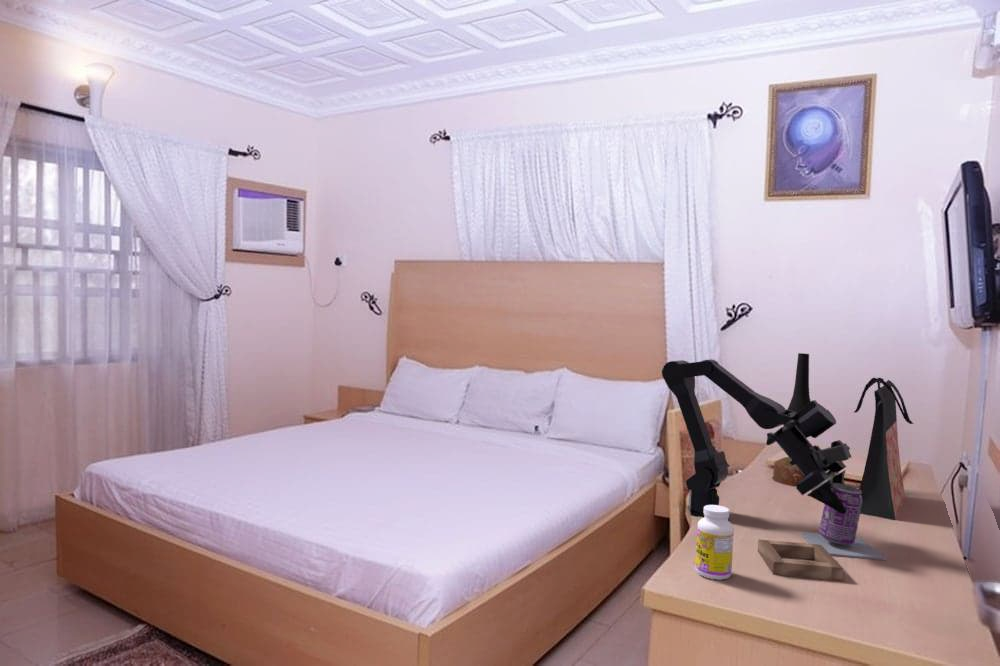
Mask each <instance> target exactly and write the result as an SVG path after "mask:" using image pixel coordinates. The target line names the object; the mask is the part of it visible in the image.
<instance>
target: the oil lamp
mask: <svg viewBox="0 0 1000 666" xmlns="http://www.w3.org/2000/svg"><path fill="white" fill-rule="evenodd" d="M797 353H798V354H797V361H796V363H797V364H796V370H795V372H796V373H795V379H794V380H795V381H794V387H793V393H792V397H791V399H790V403H788V404H789V405H788V407H787V409H786V410H790V411H793V412H797V413H798V412H799V411H800V410H802V409H803V408H804V407H806V405H807V404H808V403H809V402H811V401H812V400H811V397H810V354H809V353H801V352H797ZM794 423H796V422H795V421H793V422H790V423H788V424H783V425H782V427H787V428H789V427H790V426H792V425H793V424H794ZM796 427H797V426H796ZM797 428H798V427H797ZM804 436H805V435H804ZM805 437H806V436H805ZM806 438H807V439H808V437H806ZM790 461H792V460H791V459H790V458H789V457H788V456H784V457H782V458H779V459H777V460H775V461H774V462H773V472H772V474H773V476H772V478H771V479H772V480H773V481H774V482H777V483H778V482H779V484H781V483H782V485H786V486H791V487H796V486H797V482H798V481H800V480H801V479H803V478H802V477H803V476H804V475H803V474H802V473H801V471H800V470H799V469H798V468H797V466H796V465H793V466H792V465H791V464H790Z"/></svg>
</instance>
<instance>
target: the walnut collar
mask: <svg viewBox="0 0 1000 666" xmlns="http://www.w3.org/2000/svg"><path fill="white" fill-rule="evenodd" d="M757 552H758V554H759V555H760V557H761V558H762V560H763V561H764V563H765V564H766V566H767V567H768V569H769V571H770V572H771V574H772V575H776V576H786V577H787V576H788V577H795V578H796V577H797V578H798V577H799V578H806V579H807V578H808V579H809V578H810V579H817V580H818V579H819V580H820V579H821V580H827V581H828V580H830V581H831V580H832V581H841V582H843V573H844V567H843V566H842V565H841V564H840V563H839V562H838V561H837V560H836V559H835V558H834V556H831V555H830V554H829V553H828V552H827V551H826V550H825V548H824V547H823V546H822V545H818V544H809V543H807V542H806V543H805V542H803V543H802V542H794V541H793V542H792V541H782V540H781V541H780V540H769V539H760V538H759V539H757ZM782 557H783V558H782ZM785 557H788V558H790V559H787V558H786V559H785ZM791 558H797V559H791ZM798 559H799V560H798ZM800 559H807V560H800ZM810 560H811V561H810ZM812 560H813V561H812Z"/></svg>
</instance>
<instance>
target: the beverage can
mask: <svg viewBox="0 0 1000 666" xmlns="http://www.w3.org/2000/svg"><path fill="white" fill-rule="evenodd" d="M845 484H846V483H845ZM845 484H839V483H833V486H832V488H833V490H834V491H835V493H836V494H837V496H838V497H839V499H840V501H841V502H842V504H843V505H844V507H845V509H846V510H847V511H846V512H845V513H844V514H842V513H840V512H838V511H836V510H835V509H833V508H831V507H829V506H827V505H826V504H824V503H823V508H822V514H821V520H820V524H819V529H818V534H820V535H822V536H823V537H824V538H825V539H826V540H828V541H830V542H833V543H836V544H841V545H848V544H852V543H854V542H855V537H857V531H858V526H859V521H860V515H861V513H860V511H861V506H862V497H861V493H862V491H861V490H859V488H858V487H857V488H856V486H852V485H848V484H846V485H845Z"/></svg>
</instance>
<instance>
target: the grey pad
mask: <svg viewBox="0 0 1000 666" xmlns="http://www.w3.org/2000/svg"><path fill="white" fill-rule="evenodd" d="M800 535H801V536H802V537H803V538H804V539H805V541H806V542H807V543H808V544H818V545H822V546H823V547H824V548H825V550H826V551H827V552H828V553H829V554H830V555H831V556H832V557H844V558H845V557H846V558H853V559H867V560H878V561H886V557H884V556H883V555H882V554H881V553H880V552H879V551H878V550H876V549H875V548H874V547H873V546H871V545H870V543H868V542H867V541H866V540H865V539H863V537H859V536H856V537H855V542H854V543H852V544H848V545H841V544H836V543H833V542H830V541H828V540H826V539H825V538H824V537H823V536H822V535H820V533H814V532H802V531H801V532H800Z"/></svg>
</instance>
